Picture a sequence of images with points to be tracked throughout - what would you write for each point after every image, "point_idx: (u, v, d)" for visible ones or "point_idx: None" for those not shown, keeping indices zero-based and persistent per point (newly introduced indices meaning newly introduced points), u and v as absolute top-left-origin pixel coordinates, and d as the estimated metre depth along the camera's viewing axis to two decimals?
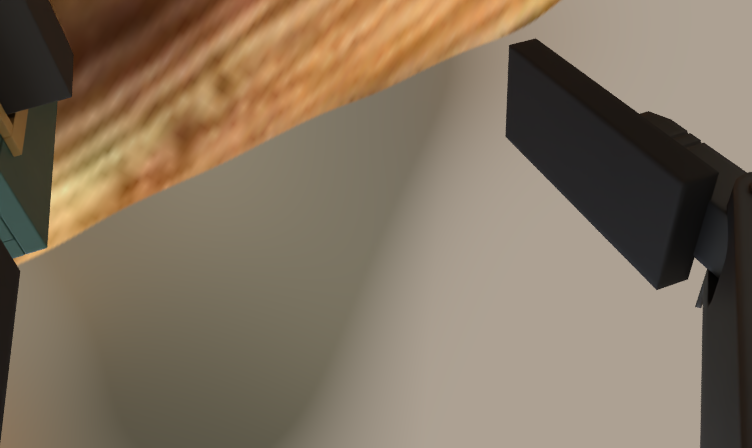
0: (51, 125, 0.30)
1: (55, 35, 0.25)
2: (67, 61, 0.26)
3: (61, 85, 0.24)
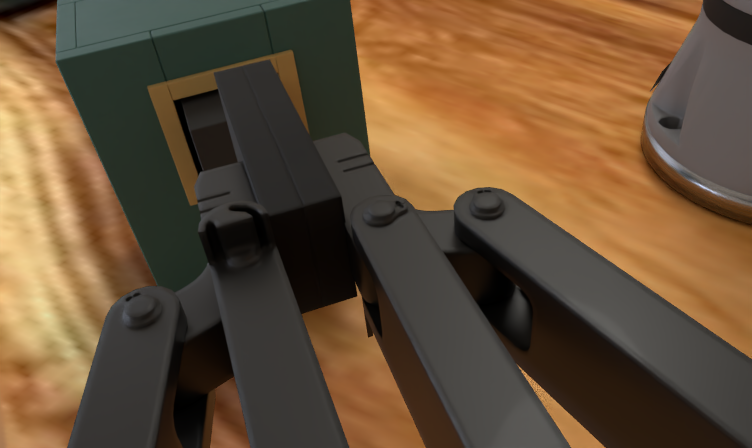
0: (141, 228, 0.31)
1: None
2: None
3: (202, 125, 0.26)
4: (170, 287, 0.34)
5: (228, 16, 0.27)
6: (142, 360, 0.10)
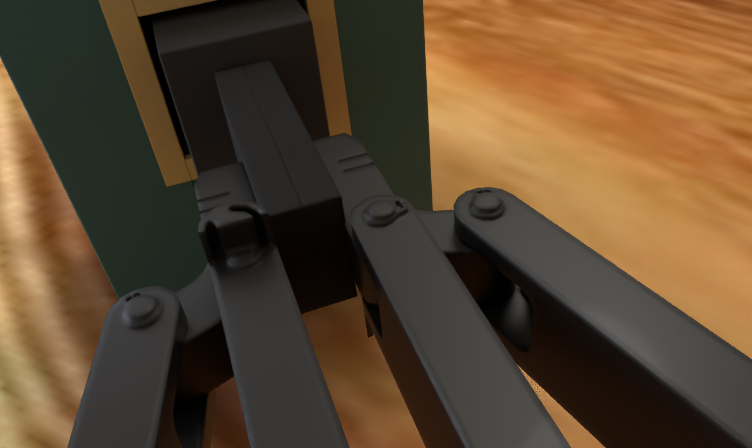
0: (94, 218, 0.21)
1: None
2: (201, 121, 0.18)
3: (179, 46, 0.17)
4: None
5: None
6: (142, 360, 0.10)
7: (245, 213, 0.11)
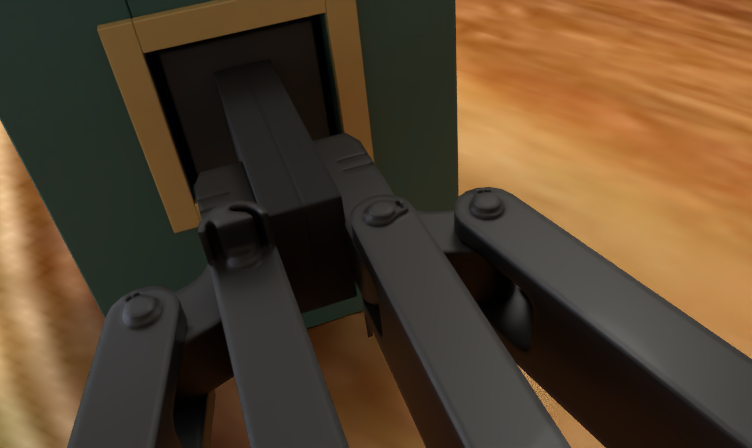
0: (95, 267, 0.19)
1: None
2: (201, 122, 0.18)
3: (179, 47, 0.17)
4: None
5: None
6: (142, 360, 0.10)
7: (245, 213, 0.11)
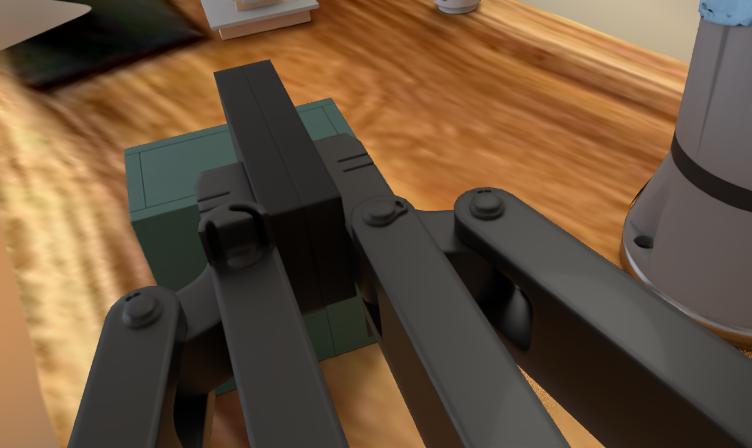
0: None
1: None
2: None
3: None
4: None
5: None
6: (142, 360, 0.10)
7: (245, 213, 0.11)
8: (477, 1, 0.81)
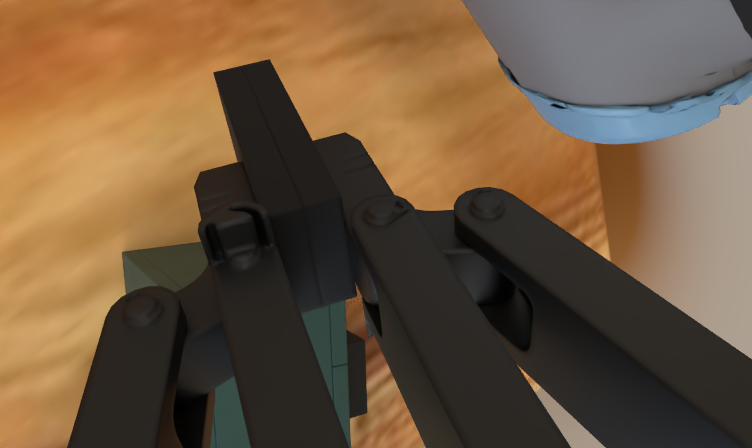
0: None
1: None
2: None
3: (364, 404, 0.34)
4: None
5: (343, 394, 0.30)
6: (142, 360, 0.10)
7: (245, 213, 0.11)
8: None
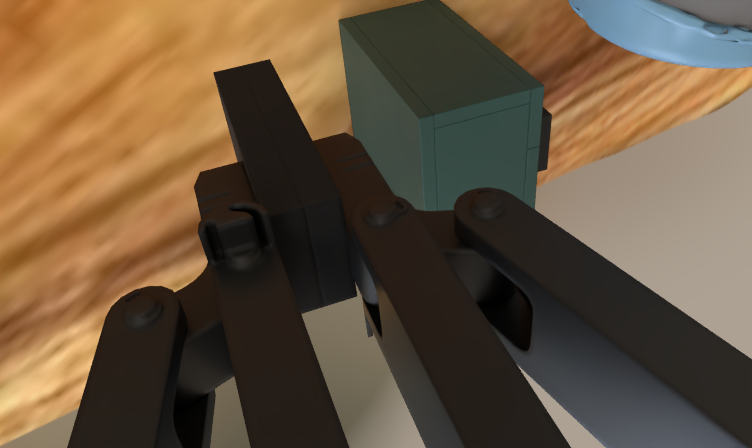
0: None
1: None
2: None
3: (545, 163, 0.41)
4: None
5: (533, 168, 0.37)
6: (142, 360, 0.10)
7: (245, 213, 0.11)
8: None
